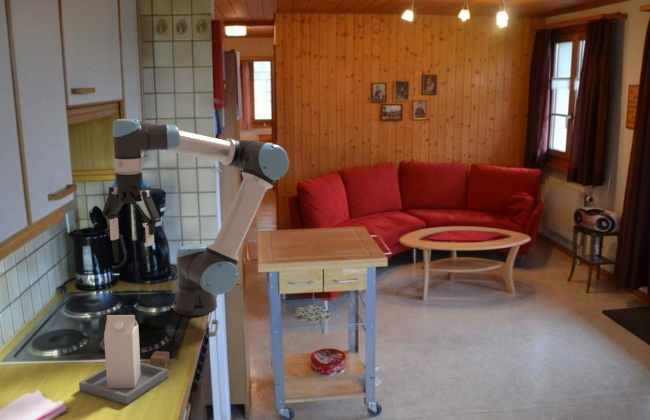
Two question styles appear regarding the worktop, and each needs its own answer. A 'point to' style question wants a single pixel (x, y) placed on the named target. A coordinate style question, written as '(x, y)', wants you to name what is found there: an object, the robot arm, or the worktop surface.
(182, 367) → the worktop surface
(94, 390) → the tray
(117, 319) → the milk carton
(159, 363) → the walnut block
